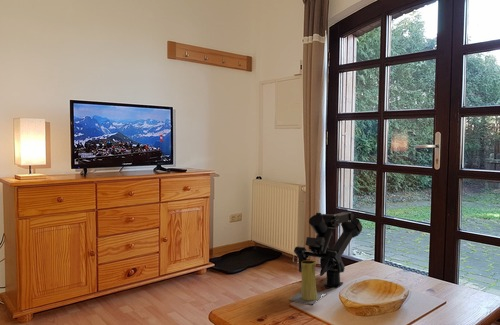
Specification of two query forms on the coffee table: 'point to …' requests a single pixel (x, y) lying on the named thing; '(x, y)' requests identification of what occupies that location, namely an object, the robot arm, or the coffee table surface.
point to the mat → (298, 299)
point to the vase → (308, 280)
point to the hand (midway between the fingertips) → (310, 273)
